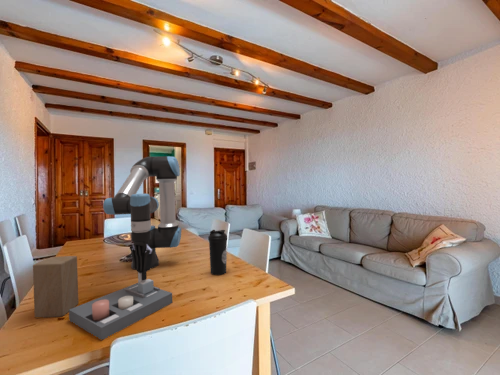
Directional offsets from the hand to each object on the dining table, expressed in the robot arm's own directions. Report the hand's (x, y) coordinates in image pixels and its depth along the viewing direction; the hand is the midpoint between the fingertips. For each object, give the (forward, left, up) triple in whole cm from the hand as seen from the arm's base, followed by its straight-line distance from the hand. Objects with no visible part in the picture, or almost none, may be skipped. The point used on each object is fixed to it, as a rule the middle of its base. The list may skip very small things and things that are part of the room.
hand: (142, 286), depth 103 cm
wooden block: (-22, -22, -6) cm, 31 cm away
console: (+1, -9, -6) cm, 11 cm away
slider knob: (+2, 0, -2) cm, 3 cm away
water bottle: (+7, +41, -6) cm, 42 cm away
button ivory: (+4, -10, -5) cm, 12 cm away
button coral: (+4, -19, -3) cm, 20 cm away
